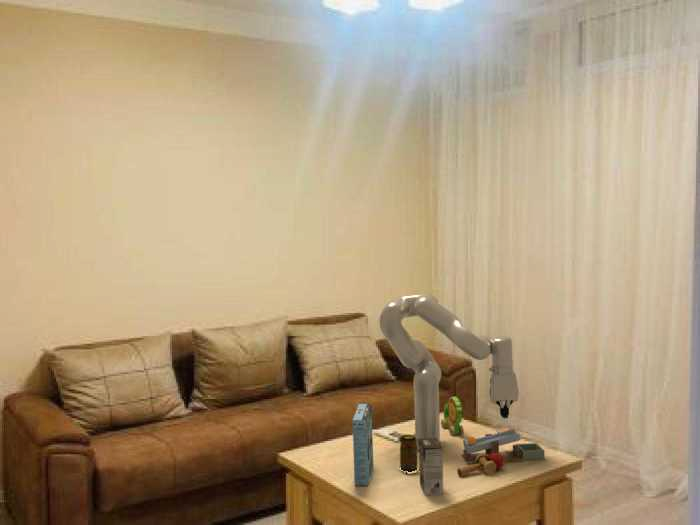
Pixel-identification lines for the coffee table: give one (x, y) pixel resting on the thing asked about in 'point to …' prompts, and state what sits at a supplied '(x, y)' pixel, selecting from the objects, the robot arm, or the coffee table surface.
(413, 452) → the condiment
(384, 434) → the coffee table surface
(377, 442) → the coffee table surface
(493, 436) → the lever
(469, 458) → the stand
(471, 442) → the ball
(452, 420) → the toy lion
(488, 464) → the kendama
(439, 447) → the coffee box
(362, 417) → the gum box
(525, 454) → the green square tray
